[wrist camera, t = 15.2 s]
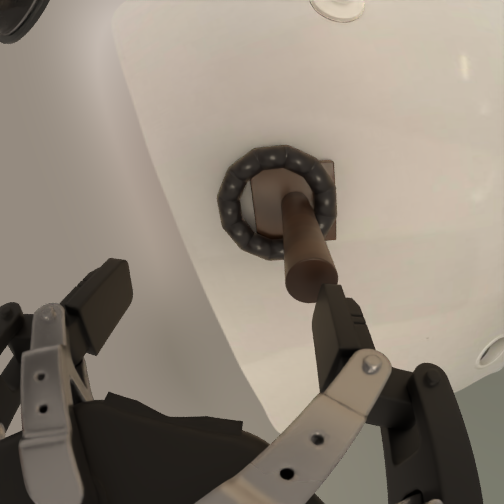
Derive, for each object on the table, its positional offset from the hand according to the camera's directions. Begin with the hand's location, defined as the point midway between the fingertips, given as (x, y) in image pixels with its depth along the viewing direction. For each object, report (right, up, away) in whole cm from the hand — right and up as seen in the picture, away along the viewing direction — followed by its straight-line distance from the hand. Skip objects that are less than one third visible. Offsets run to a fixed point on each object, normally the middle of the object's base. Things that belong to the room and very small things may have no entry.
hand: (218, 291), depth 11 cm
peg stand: (+5, +6, +13) cm, 15 cm away
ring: (+3, +5, +11) cm, 13 cm away
